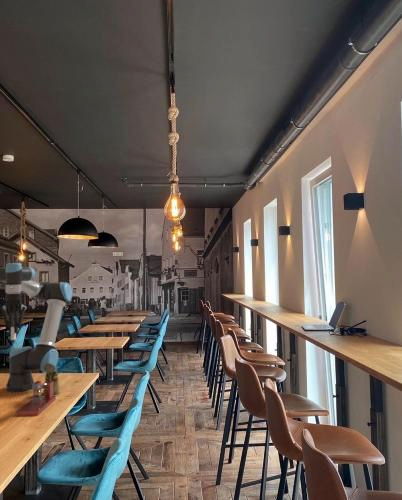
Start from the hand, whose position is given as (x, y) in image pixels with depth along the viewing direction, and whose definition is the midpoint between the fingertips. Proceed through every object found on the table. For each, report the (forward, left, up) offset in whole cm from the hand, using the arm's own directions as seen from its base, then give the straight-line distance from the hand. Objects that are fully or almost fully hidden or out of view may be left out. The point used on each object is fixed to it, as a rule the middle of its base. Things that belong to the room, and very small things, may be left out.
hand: (13, 339), depth 217 cm
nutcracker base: (+6, +15, -32) cm, 36 cm away
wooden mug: (-16, +14, -32) cm, 39 cm away
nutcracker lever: (+8, +15, -23) cm, 28 cm away
